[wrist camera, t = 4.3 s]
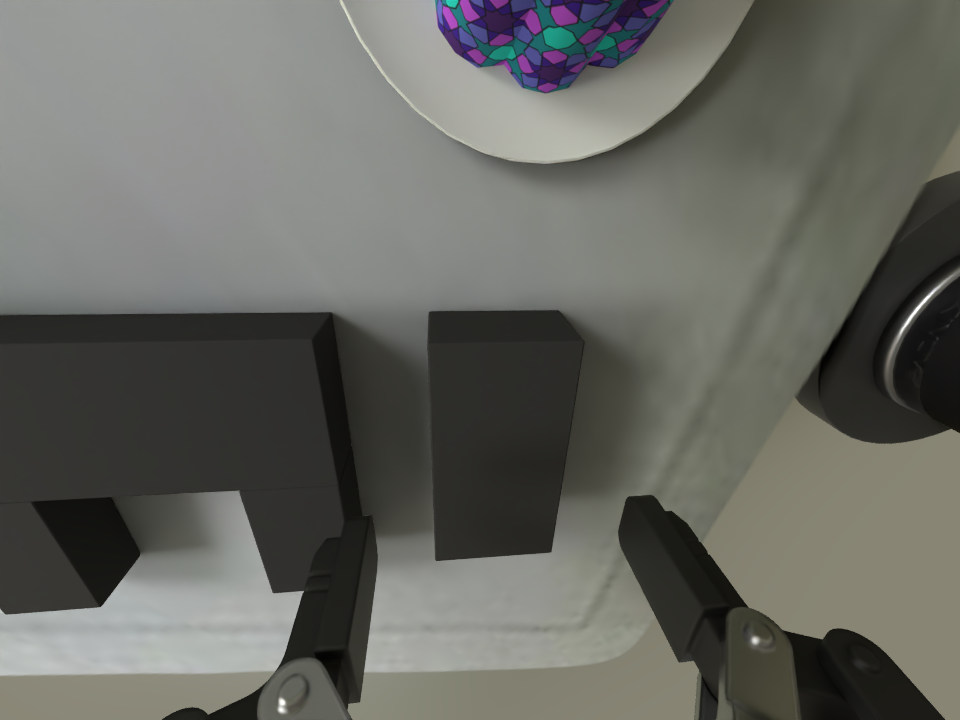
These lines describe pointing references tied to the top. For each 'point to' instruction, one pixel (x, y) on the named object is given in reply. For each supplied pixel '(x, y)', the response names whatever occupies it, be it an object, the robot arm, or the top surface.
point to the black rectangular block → (499, 428)
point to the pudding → (544, 66)
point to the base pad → (164, 441)
